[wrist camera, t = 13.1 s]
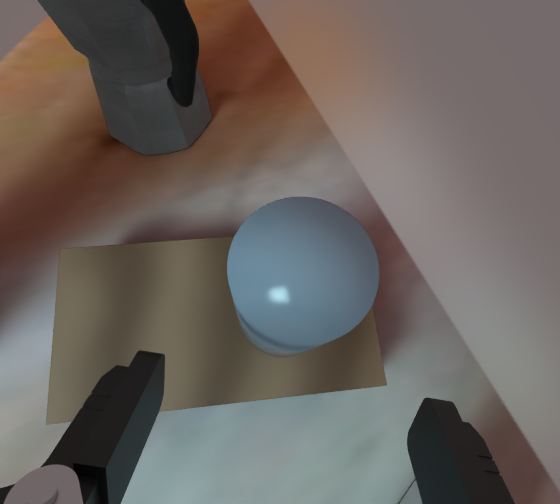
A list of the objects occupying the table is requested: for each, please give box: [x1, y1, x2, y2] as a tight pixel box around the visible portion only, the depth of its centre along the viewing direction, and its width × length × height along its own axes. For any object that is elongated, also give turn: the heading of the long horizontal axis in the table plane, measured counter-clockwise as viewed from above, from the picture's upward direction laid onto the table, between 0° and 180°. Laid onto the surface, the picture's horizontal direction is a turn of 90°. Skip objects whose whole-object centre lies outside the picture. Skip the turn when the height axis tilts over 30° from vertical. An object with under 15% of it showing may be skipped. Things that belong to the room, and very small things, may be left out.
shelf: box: [46, 236, 387, 425], centre depth 25 cm, size 19×10×5 cm, turn 96°
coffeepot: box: [38, 0, 212, 156], centre depth 24 cm, size 15×9×18 cm, turn 37°
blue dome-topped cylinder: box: [227, 197, 380, 357], centre depth 18 cm, size 6×6×10 cm
